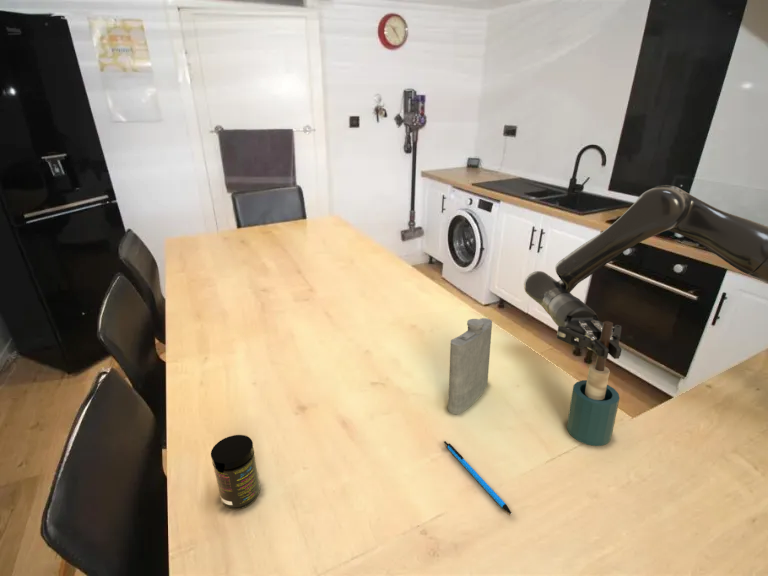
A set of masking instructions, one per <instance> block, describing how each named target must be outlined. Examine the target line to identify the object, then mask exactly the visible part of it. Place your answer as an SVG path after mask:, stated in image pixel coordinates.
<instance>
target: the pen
mask: <svg viewBox="0 0 768 576" xmlns="http://www.w3.org/2000/svg"><path fill="white" fill-rule="evenodd" d="M443 443H444V444H445V445H446V448H447V450H449V452H450V453H451V454H452V455H453V456H454V457H455V458H456V459H457V460H458V461H459V463H461V465H462V466H463V467H464V468H465V469H466V470H467V471H468V473H470V474H471V476H472V477H473V478H474V479H475V480H476V481H477V482H478V483H479V484H480V486H481V487H483V489H484V490H485V491H486V492H487V493H488V494H489V496H491V498H493V500H494V501H495V502H496V503H497V504H498V505H499V507H501V508H502V509H503V510H504V511H506V512H507V513H509V514H510V515H513V513H512V511H511V510H510V508H509V506H508V505H507V503H505V501H504V500H503V499H502V498H501V497H500V496H499V495H498V493H496V492H495V491H494V489H492V487H490V485H489V484H488V483H487V482H486V481H485V480H484V479H483V477H482V476H481V475H479V474H478V472H477V471H476V470H475V469H474V468H473V467H472V466H471V465H470V464H469V462H467V461H466V459H465V457H463V455H462V454H460V453H459V451H458V450H457V449H456V448H455V447H454V446H453V445H452V444H451V443H450V442H449V443H448V442H447V441H446V440H444V441H443Z"/></svg>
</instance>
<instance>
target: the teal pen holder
mask: <svg viewBox="0 0 768 576" xmlns="http://www.w3.org/2000/svg"><path fill="white" fill-rule="evenodd" d="M586 383H587V379H583V380H579V381H576V382H575V383H574V384H573V385H572V393H571V398H570V405H569V410H568V416H567V425H566V429H567V432H568V433H569V435H570V436H571V437H572V438H574V439H575V440H576V441H577V442H580V443H582V444H584V445H587V446H593V447H594V446H595V447H602V446H607V444H609V443H610V442H611V439H612V436H613V433H614V427H615V422H616V417H617V414H618V413H617V412H618V408H619V403H620V394H619V392H618V391H617V390H616V389H615V388H614V387H612V386H610V385H609V384H607V388H606V393H605V398H604V399H603V400H595V399H591V398H589V397H587V396H586V395H585V388H586Z"/></svg>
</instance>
